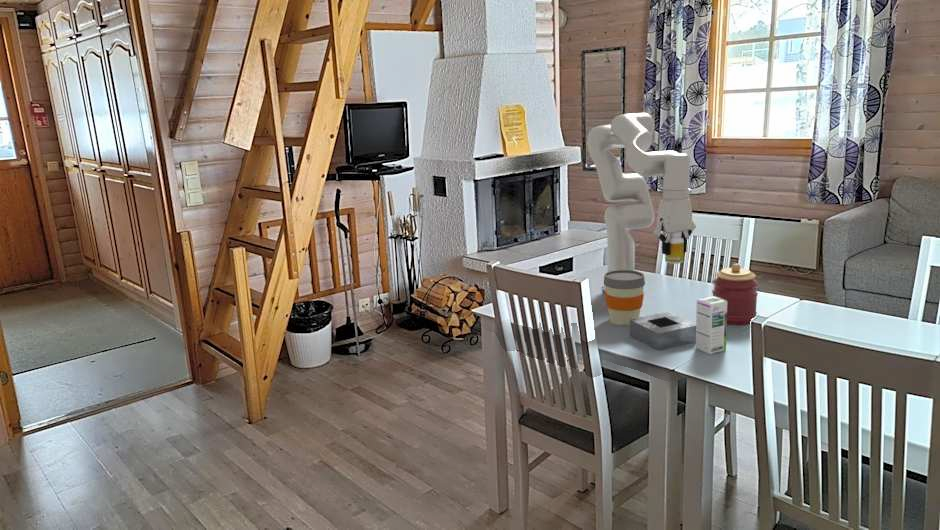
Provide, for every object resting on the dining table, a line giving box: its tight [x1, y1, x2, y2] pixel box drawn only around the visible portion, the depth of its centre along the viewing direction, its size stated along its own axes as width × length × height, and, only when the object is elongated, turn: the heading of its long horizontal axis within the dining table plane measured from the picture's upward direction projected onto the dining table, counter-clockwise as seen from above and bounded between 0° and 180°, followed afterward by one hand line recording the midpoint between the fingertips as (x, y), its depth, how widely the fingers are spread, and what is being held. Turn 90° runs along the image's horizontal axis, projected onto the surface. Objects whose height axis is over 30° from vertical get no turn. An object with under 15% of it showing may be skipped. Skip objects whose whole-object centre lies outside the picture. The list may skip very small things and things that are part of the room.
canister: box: [711, 263, 759, 326], centre depth 204 cm, size 13×13×18 cm
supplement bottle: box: [664, 232, 684, 265], centre depth 204 cm, size 5×5×10 cm
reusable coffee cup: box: [603, 270, 646, 326], centre depth 207 cm, size 12×13×15 cm
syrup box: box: [695, 295, 728, 355], centre depth 181 cm, size 6×6×14 cm
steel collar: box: [629, 311, 696, 351], centre depth 192 cm, size 13×13×5 cm
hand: (674, 252), depth 204 cm, fingers closed on supplement bottle, 5 cm apart
